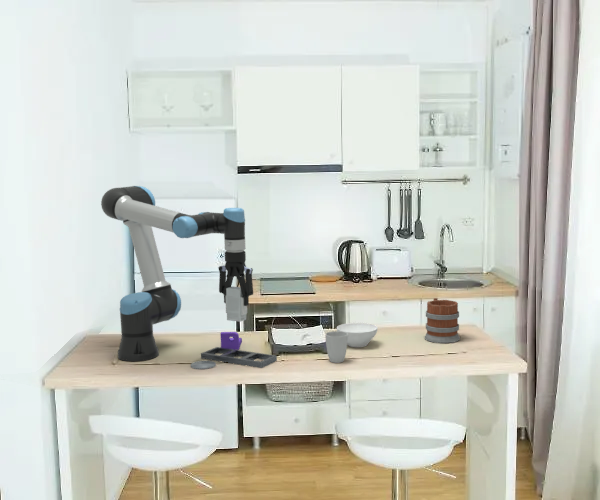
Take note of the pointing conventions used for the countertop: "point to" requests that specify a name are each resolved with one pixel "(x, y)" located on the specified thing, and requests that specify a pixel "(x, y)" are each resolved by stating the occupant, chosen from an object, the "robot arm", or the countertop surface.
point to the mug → (442, 321)
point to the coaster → (203, 364)
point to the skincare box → (234, 304)
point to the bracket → (230, 340)
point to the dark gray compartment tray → (245, 360)
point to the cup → (336, 345)
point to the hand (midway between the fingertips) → (236, 313)
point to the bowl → (358, 333)
